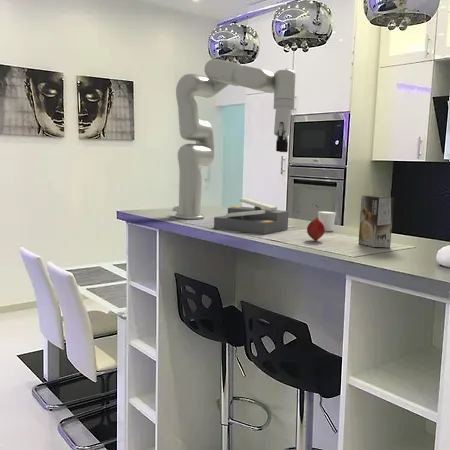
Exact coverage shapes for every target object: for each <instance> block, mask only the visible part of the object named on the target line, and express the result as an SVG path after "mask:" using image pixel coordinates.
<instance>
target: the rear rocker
mask: <svg viewBox="0 0 450 450" xmlns="http://www.w3.org/2000/svg"><path fill="white" fill-rule="evenodd" d="M239 202H240V203H244V204H247V205H251V206H254V207H255V206H256V207H260V208H261V209H266V210H269V211H273V210H278V206H275V205H272V204H269V203H267V202H266V203H265V202H262V201H259V200H255V199H253V198H249V197H243V198H241V197H240V198H239Z"/></svg>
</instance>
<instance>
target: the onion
mask: <svg viewBox="0 0 450 450" xmlns="http://www.w3.org/2000/svg"><path fill="white" fill-rule="evenodd" d="M306 227H307V228H306V233H307V235H308V236H309V237H310V238H311V239H312V240H313V241H315V242H316V241H319V239H320V238H322V237H323V236H324V234H325V233H326V231H325V228H324V225H323V223H322V222H321V221H319V218H318V216H317V217H315V218H314V219H313V220H311V221H310V222H309V224H308V225H307V226H306Z"/></svg>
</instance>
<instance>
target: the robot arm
mask: <svg viewBox="0 0 450 450" xmlns="http://www.w3.org/2000/svg"><path fill="white" fill-rule="evenodd" d="M204 73H205V76H204V75H200V74H197V73H186V74H184V75H182V77H180V78H179V79H178V82H177V84H176V88H175V96H176V98H175V99H176V102H177V109H178V112H177V113H178V127H179V128H178V129H179V136H180V137H181V139H183V140H185V141H190V142H195V143H185V144H182V145H181V146H180V148H179V149H178V151H177V163H178V169H179V172H178V173H179V180H178V182H179V185H178V188H179V189H178V206H174V207H172V212H176V213H175V214H174V217H175V218H178V219H184V220H185V219H187V220H188V219H189V220H200V219H204V218H205V215H204V214H203V213H201V209H202V186H203V185H202V181H203V180H202V179H203V178H202V176H203V175H202V172H201V167H207V166H208V167H209V166H210V165H211V164H213V162H214V159H215V143H214V141H215V139H214V130H213V127H212V125H211V123H210V122H209V121H208V120H206V119H202V118H200V115H199V114H200V113H199V106H198V104H197V103H198V102H197V101H196V99H195V97H201V98H212V97H214V96H216V95H217V94H219V93H220V92H221V91H223V90H224V89H225V88H227V87H228V86H235V87H238V86H239V87H243V88H247V89H250V90H251V89H252V90H256V91H259V92H265V93H268V94H272V93H273V110H275V114H274V115H275V116H274V129H273V135H274V136H276V141H275V142H276V145H275V151H276V152H278V153H288V150H289V149H288V148H289V146H288V145H289V141H288V140H289V139H288V137H289V136H290V128H291V111H292V110H294V109H295V95H296V93H295V92H296V90H295V89H296V73H295V71H294V70H291V69H278V70H277V71H276V72H273V71H270V70H265V69H262V68H257V67H252V66H248V65H243V64H242V63H239V62H235V61H234V62H233V61H230V60H229V61H228V60H224V59H219V58H212V59H210V60H208V61H206V63H205V65H204Z"/></svg>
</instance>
